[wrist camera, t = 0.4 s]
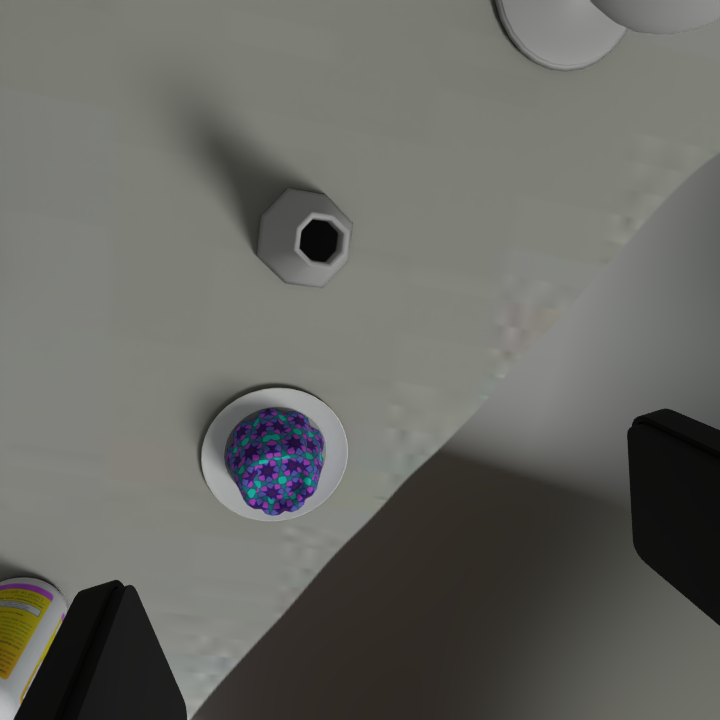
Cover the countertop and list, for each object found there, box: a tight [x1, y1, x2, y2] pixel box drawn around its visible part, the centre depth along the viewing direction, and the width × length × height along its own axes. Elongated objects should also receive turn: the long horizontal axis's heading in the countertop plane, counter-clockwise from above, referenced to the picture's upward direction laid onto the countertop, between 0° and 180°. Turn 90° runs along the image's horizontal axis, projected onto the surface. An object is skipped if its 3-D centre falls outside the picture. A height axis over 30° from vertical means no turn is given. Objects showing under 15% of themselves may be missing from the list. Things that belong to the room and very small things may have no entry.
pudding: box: [201, 388, 348, 521], centre depth 38 cm, size 12×12×5 cm
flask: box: [257, 188, 353, 288], centre depth 32 cm, size 7×7×10 cm
